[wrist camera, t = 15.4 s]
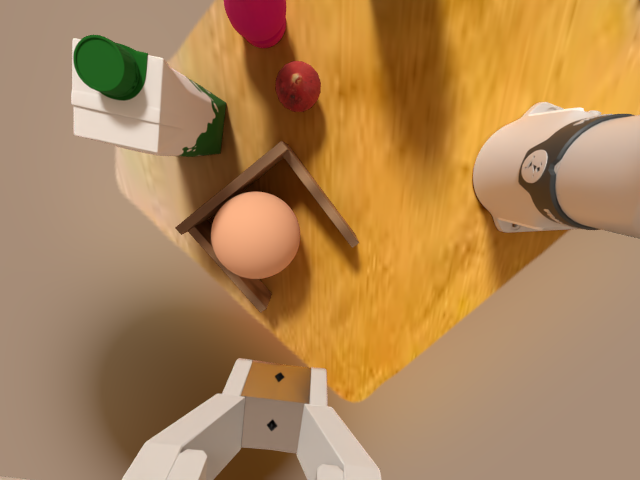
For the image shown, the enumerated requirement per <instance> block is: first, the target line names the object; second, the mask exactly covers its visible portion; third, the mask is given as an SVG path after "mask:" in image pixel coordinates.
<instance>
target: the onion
mask: <svg viewBox="0 0 640 480" xmlns="http://www.w3.org/2000/svg"><path fill="white" fill-rule="evenodd" d="M320 87H321V82H320V79H319V76H318V74H317V72H316V71H315V70H314V69H313V68H312V67H311V66H310V65H309V64H307V63H304V62H302V61H292V62H290V63H288V64H285V65H284V66H283V68H282V69H281V70H280V71H279V73H278V76H277V78H276V88H275V89H276V93H277V96H278V99H279V101H280V102H281V103H282V104H283V106H284V107H285V108H287V109H289V110H291V111H293V112H304V111H306V110H308V109H310V108H311V107H312V106H313V105H314V104H315V103H316V102H317V100H318V97H319V94H320Z"/></svg>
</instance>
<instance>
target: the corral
mask: <svg viewBox="0 0 640 480" xmlns="http://www.w3.org/2000/svg"><path fill="white" fill-rule="evenodd" d="M283 158H285V160H286V161H287V162H288V164H289V165H290V166H291V168H292V169H293V170H294V172H295V173H296V174H297V176H298V177H299V178H300V180H301V181H302V182H303V184H304V185H305V186H306V187H307V189H308V190H309V191H310V193H311V194H312V195H313V197H314V198H315V199H316V201H317V202H318V203H319V205H320V206H321V207H322V209H323V210H324V211H325V213H326V214H327V215H328V216H329V218H330V219H331V220H332V222H333V223H334V224H335V226H336V227H337V228H338V230H339V231H340V232H341V234H342V235H343V236H344V238H345V239H346V240H347V242H348V243H349V244H350V245H351V247H352V248H353V247H354V246H355V245H357V244H358V243H359V242H358V239H357V237H356V235H355V233H354V232H353V231H352V229H351V228H350V227H349V225H348V224H347V223H346V221H345V220H344V219H343V217H342V216H341V215H340V213H339V212H338V211H337V209H336V208H335V207H334V205H333V204H332V203H331V201H330V200H329V199H328V197H327V196H326V195H325V193H324V192H323V191H322V189H321V188H320V187H319V185H318V184H317V183H316V181H315V180H314V179H313V177H312V176H311V175H310V173H309V172H308V171H307V169H306V168H305V167H304V165H303V164H302V163H301V161H300V160H299V159H298V157H297V156H296V154H295V153H294V152H293V150H292V149H291V148H290V146H289V145H288V144H287V143H285V142H283V141H281V142H279V143H278V144H277V145H276V146H275V147H273V148H272V149H271V150H270V151H268V152H267V153H266V154H265V155H264V156H262V157H261V158H260V159H259V160H257V161H256V162H255V163H254V164H253V165H251V166H250V167H249V168H248V169H246V170H245V171H244V172H243V173H242V174H240V175H239V176H238V177H237V178H235V179H234V180H233V181H232V182H231V183H229V184H228V185H227V186H226V187H224V188H223V189H222V190H221V191H220V192H218V193H217V194H216V195H215V196H213V197H212V198H211V199H210V200H209V201H207V202H206V203H205V204H204V205H203V206H201V207H200V208H199V209H198V210H196V211H195V212H194V213H193V214H192V215H190V216H189V217H188V218H187V219H185V220H184V221H183V222H182V223H181V224H179V225H178V226H177V227H176V229H177V230H178V231H179V233H180V234H181V235H182V234H184V233H186V232H189V233H190V234H191V235H192V236H193V238H194V239H195V240H196V241H197V242H198V243H199V244H200V245H201V247H202V248H203V249H204V250H205V251H206V252H207V253H208V254H209V255H210V257H211V258H212V259H213V260H214V261H215V262H216V263H217V264H218V266H219V267H220V268H221V269H222V270H223V271H224V272H225V273H226V275H227V276H228V277H229V278H230V279H231V280H232V281H233V282H234V283H235V285H236V286H237V287H238V288H239V289H240V290H241V291H242V292H243V294H244V295H245V296H246V297H247V298H248V299H249V300H250V301H251V303H252V304H253V305H254V306H255V307H256V308H257V309H258V310H259V311H260V313H261V312H262V311H264V310H265V309H267V306H268V303H269V301H270V298H271V295H272V294H271V292H270V291H269V290H268V289H267V288H266V287H265V285H264V284H263V283H262V282H261V281H260V280H259V279H250V278H245V277H241V276H238V275H236V274H234V273H232V272H231V271H230V270H228V269H227V268H226V267H225V266H224V265H223V264H222V263H221V262H220V261H219V259H218V258H217V256H216V254H215V252H214V250H213V246H212V242H211V229H212V224H211V223H210V222H209V221H208V219H209V218H210V217H211V216H213V215H214V214H215V213H216V212H218V211H219V209H220V208H221V207H222V206H223V205H224V204H225V203H226V202H227V201H228V200H230V199H231V198H233V197H235V196H237V195H239V194H240V193H241V192H242V191H244V190H245V189H246V188H247V187H249V186H250V185H251V184H252V183H254V182H255V181H256V180H257V179H259V178H260V177H261V176H262V175H263V174H265V173H266V172H267V171H268V170H270V169H271V168H272V167H273V166H275V165H276V164H277V163H278V162H280V161H281V160H282V159H283Z"/></svg>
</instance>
